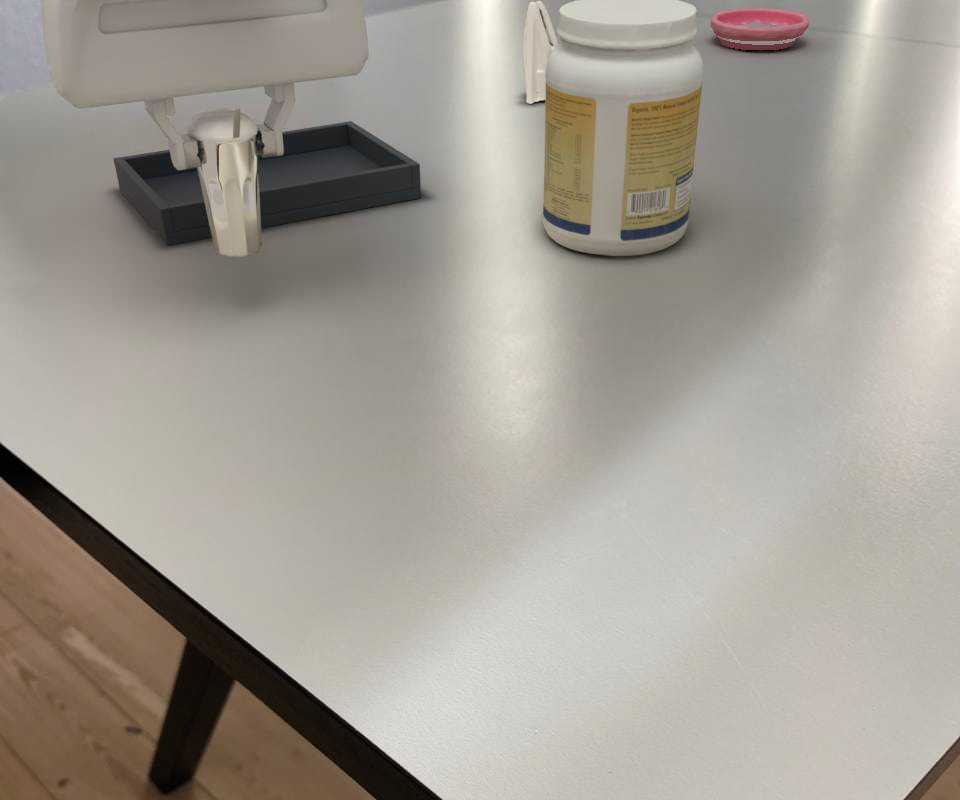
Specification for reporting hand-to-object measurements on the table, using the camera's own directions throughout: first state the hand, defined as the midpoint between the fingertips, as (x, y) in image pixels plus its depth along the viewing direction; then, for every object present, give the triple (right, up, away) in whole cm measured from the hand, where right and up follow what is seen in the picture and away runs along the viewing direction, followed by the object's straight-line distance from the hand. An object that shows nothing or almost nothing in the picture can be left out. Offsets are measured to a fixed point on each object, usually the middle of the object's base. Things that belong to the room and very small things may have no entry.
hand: (228, 160), depth 75 cm
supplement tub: (+28, +2, +19) cm, 34 cm away
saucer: (+53, +46, +71) cm, 100 cm away
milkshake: (0, -5, +4) cm, 6 cm away
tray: (-2, +9, +28) cm, 29 cm away
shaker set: (+28, +30, +53) cm, 67 cm away
